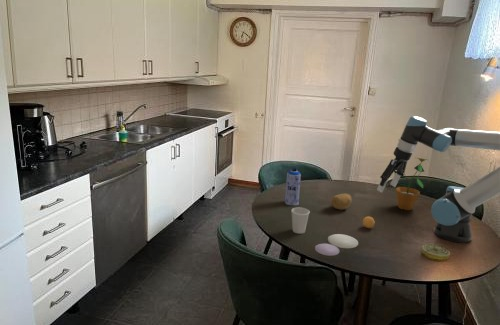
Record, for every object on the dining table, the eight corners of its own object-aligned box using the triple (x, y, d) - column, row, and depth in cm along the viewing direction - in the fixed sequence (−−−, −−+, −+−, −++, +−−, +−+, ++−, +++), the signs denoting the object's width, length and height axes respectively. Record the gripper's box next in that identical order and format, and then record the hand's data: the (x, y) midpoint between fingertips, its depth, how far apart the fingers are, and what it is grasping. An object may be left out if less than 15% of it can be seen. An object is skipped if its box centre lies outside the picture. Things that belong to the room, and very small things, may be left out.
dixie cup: (310, 229, 172) (312, 209, 170) (303, 236, 165) (305, 215, 163) (294, 225, 176) (295, 205, 174) (286, 231, 169) (288, 211, 167)
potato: (355, 207, 201) (357, 194, 199) (341, 214, 192) (343, 200, 190) (340, 202, 208) (341, 189, 206) (325, 208, 198) (327, 194, 196)
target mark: (363, 242, 162) (363, 241, 162) (347, 251, 153) (347, 251, 153) (338, 231, 171) (338, 231, 171) (321, 240, 162) (321, 239, 162)
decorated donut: (447, 253, 156) (449, 245, 155) (450, 265, 147) (452, 256, 146) (420, 247, 160) (422, 239, 159) (421, 259, 150) (423, 250, 149)
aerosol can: (283, 204, 202) (285, 168, 197) (286, 199, 210) (288, 165, 204) (297, 206, 200) (300, 170, 195) (300, 201, 207) (302, 167, 202)
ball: (376, 227, 177) (377, 217, 176) (370, 231, 174) (371, 220, 172) (365, 224, 181) (367, 213, 180) (359, 227, 177) (361, 216, 176)
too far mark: (344, 250, 154) (344, 250, 154) (330, 258, 147) (330, 257, 147) (324, 241, 161) (324, 241, 161) (310, 248, 154) (310, 248, 154)
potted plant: (430, 211, 201) (440, 158, 193) (403, 215, 194) (412, 160, 186) (406, 200, 217) (414, 150, 209) (380, 203, 210) (387, 151, 202)
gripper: (408, 142, 180) (391, 179, 189) (384, 148, 163) (366, 189, 172) (423, 149, 175) (404, 187, 185) (399, 156, 158) (380, 197, 168)
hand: (386, 188), depth 178 cm, fingers open, 13 cm apart
